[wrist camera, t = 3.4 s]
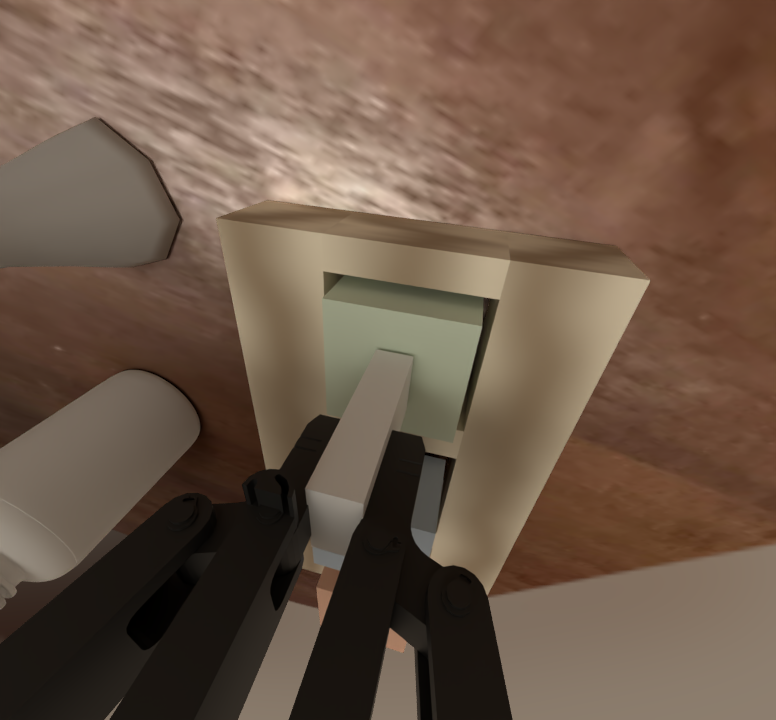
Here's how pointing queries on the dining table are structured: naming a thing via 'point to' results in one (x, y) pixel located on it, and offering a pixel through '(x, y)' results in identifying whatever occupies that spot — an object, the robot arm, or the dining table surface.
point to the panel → (492, 360)
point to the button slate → (422, 515)
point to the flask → (83, 204)
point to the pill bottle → (86, 473)
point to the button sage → (403, 346)
